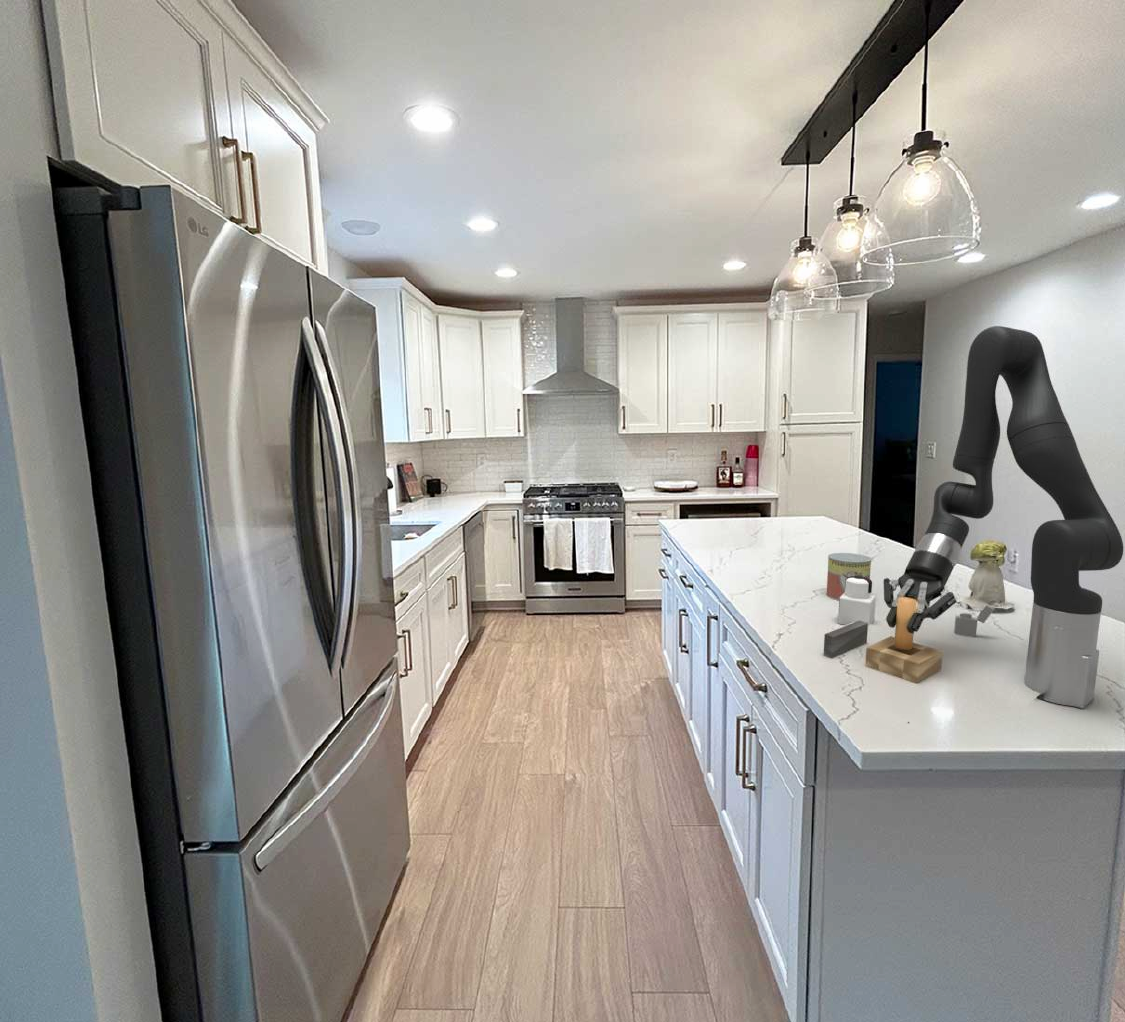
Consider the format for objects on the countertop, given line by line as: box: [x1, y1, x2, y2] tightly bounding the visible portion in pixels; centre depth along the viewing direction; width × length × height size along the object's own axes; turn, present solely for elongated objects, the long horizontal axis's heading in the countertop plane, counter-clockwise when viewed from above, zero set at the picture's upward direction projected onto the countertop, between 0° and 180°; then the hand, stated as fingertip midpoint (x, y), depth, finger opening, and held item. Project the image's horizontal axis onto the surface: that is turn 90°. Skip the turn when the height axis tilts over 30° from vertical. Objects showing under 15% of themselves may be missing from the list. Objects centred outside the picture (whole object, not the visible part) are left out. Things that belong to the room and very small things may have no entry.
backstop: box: [823, 621, 869, 659], centre depth 116 cm, size 20×14×6 cm
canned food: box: [825, 552, 872, 602], centre depth 163 cm, size 11×11×12 cm
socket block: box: [865, 636, 944, 684], centre depth 113 cm, size 10×10×4 cm
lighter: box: [953, 604, 995, 638], centre depth 132 cm, size 7×2×8 cm, turn 59°
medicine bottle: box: [837, 576, 877, 626], centre depth 142 cm, size 7×7×12 cm
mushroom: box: [955, 540, 1015, 612], centre depth 151 cm, size 12×13×18 cm
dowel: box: [894, 597, 918, 650], centre depth 112 cm, size 3×3×10 cm
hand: (900, 628), depth 111 cm, fingers closed on dowel, 3 cm apart
